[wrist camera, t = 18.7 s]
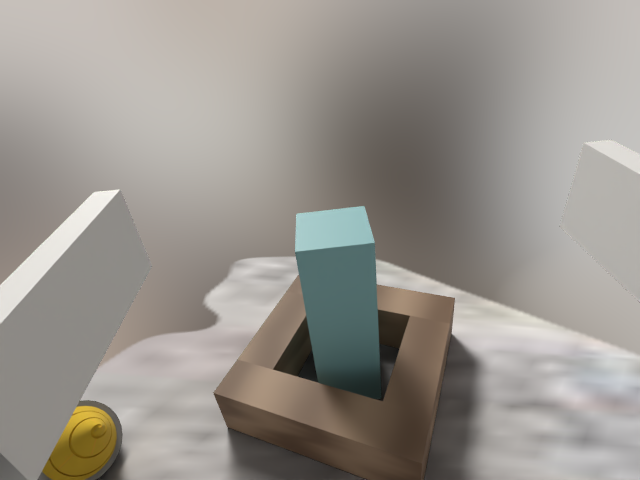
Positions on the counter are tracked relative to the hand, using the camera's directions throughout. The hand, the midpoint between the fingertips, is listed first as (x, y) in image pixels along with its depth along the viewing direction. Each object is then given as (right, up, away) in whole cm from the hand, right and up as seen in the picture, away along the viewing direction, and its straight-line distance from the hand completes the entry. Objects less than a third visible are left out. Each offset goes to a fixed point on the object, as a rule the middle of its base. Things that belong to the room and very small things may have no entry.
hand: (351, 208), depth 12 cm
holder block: (+1, -12, +20) cm, 23 cm away
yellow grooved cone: (-16, -17, +16) cm, 28 cm away
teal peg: (+1, -12, +20) cm, 23 cm away
